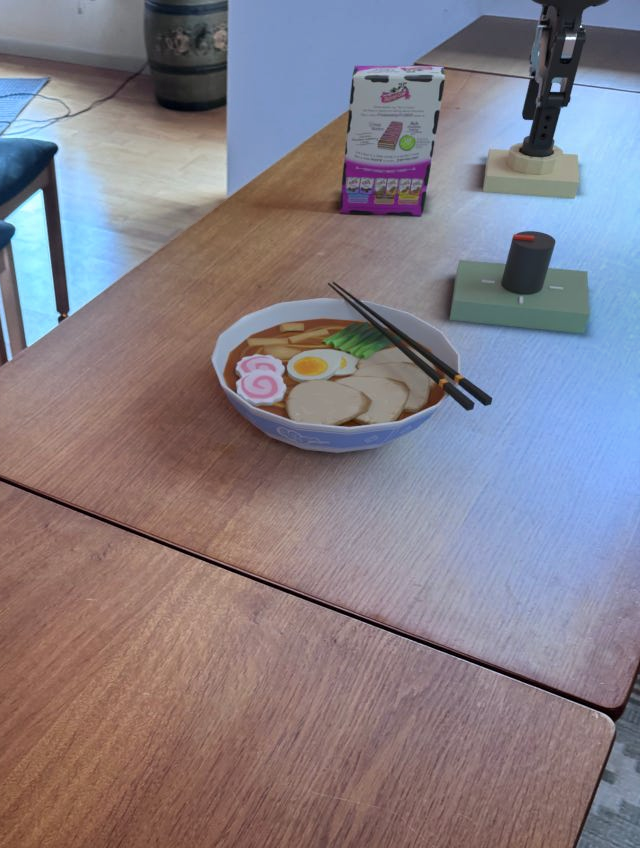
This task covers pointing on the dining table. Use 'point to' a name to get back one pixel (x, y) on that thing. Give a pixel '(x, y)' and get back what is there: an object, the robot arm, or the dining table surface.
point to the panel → (520, 299)
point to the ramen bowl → (338, 372)
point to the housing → (531, 173)
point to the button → (535, 153)
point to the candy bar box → (390, 139)
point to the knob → (528, 262)
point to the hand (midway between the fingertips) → (534, 133)
